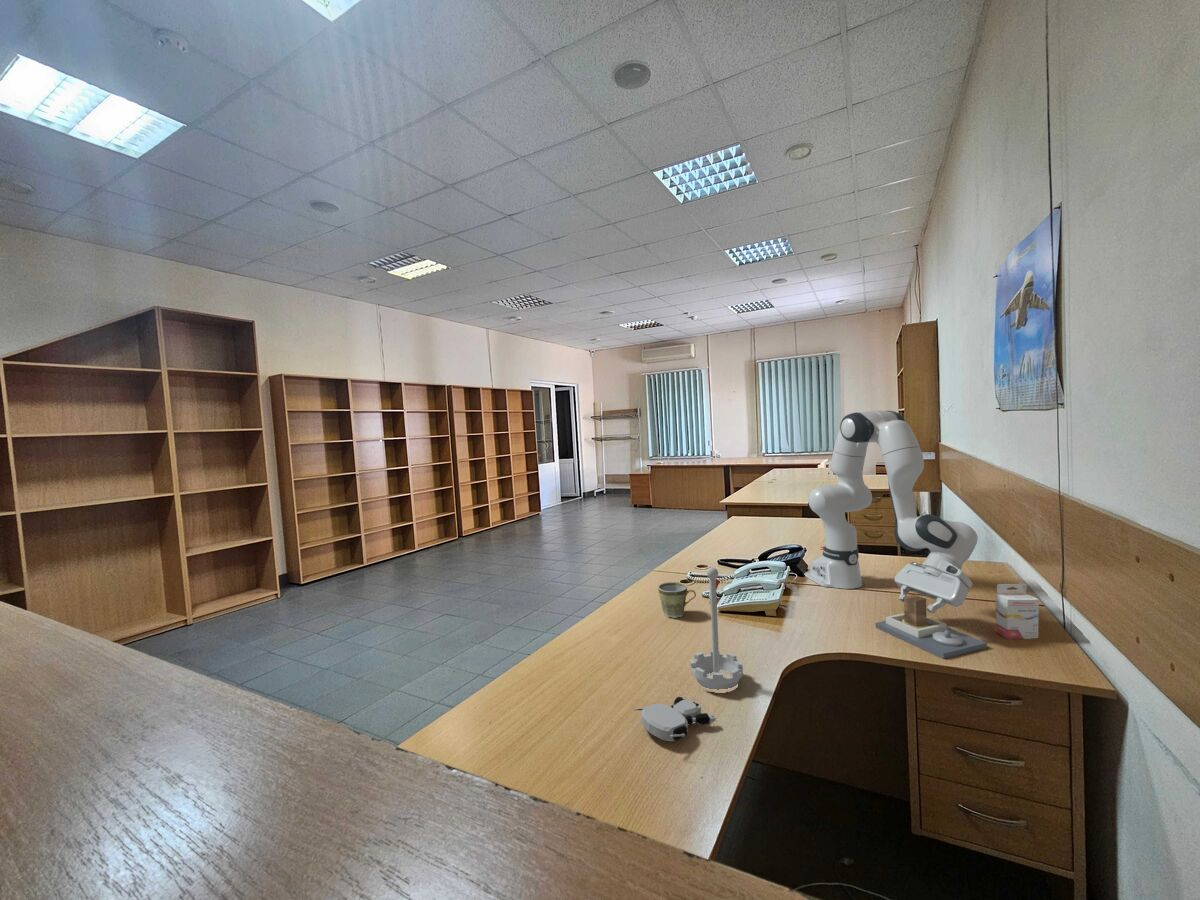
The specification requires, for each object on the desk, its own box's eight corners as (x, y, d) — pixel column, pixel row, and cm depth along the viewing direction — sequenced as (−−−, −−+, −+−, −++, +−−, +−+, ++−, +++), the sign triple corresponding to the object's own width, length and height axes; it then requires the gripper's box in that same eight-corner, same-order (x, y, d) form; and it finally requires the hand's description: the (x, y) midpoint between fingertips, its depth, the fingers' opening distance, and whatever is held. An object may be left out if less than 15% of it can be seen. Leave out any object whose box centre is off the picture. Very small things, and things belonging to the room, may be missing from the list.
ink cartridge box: (1007, 639, 141) (1007, 589, 140) (995, 632, 146) (994, 583, 145) (1039, 639, 140) (1039, 588, 139) (1026, 632, 145) (1026, 582, 144)
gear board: (875, 627, 153) (875, 614, 153) (915, 618, 158) (914, 605, 158) (943, 659, 132) (943, 643, 132) (986, 648, 137) (986, 632, 137)
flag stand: (734, 701, 118) (729, 578, 116) (683, 688, 125) (678, 571, 123) (749, 676, 129) (745, 563, 127) (701, 665, 136) (697, 558, 134)
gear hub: (896, 624, 151) (895, 595, 151) (913, 620, 153) (913, 592, 153) (917, 633, 144) (916, 603, 144) (935, 629, 147) (934, 599, 146)
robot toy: (680, 707, 118) (631, 726, 110) (681, 688, 118) (631, 706, 110) (719, 732, 108) (668, 756, 100) (719, 711, 108) (668, 733, 100)
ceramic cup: (656, 619, 169) (654, 590, 168) (663, 608, 178) (662, 581, 177) (693, 623, 164) (692, 593, 163) (699, 611, 173) (698, 583, 172)
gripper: (904, 555, 160) (880, 588, 158) (967, 572, 140) (941, 611, 138) (914, 566, 162) (891, 600, 159) (978, 585, 142) (953, 624, 140)
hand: (915, 605), depth 149 cm, fingers open, 8 cm apart
